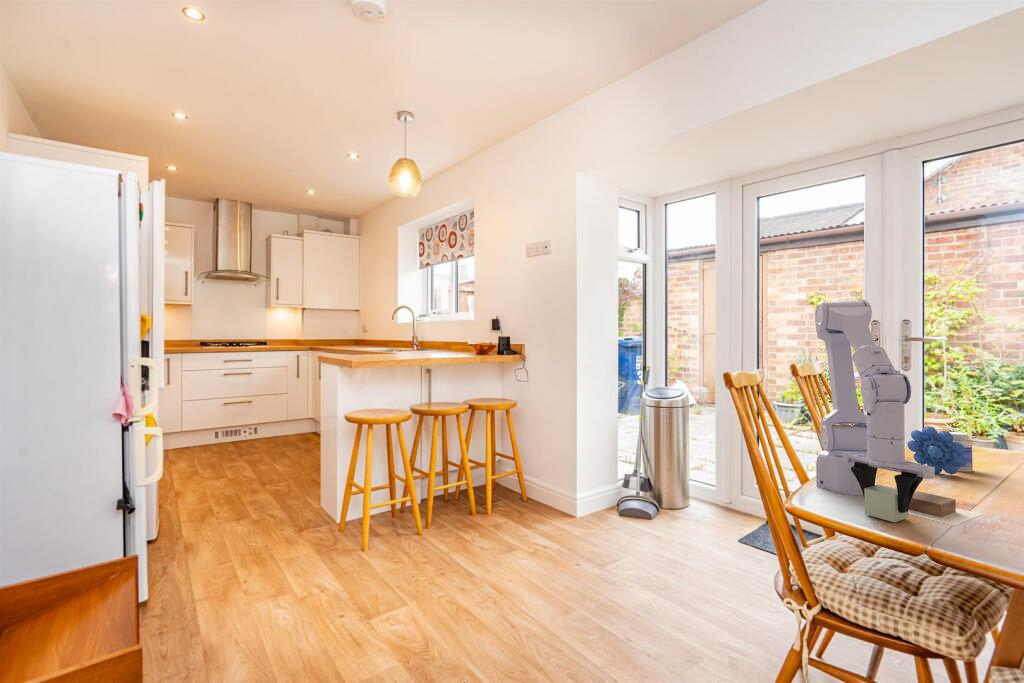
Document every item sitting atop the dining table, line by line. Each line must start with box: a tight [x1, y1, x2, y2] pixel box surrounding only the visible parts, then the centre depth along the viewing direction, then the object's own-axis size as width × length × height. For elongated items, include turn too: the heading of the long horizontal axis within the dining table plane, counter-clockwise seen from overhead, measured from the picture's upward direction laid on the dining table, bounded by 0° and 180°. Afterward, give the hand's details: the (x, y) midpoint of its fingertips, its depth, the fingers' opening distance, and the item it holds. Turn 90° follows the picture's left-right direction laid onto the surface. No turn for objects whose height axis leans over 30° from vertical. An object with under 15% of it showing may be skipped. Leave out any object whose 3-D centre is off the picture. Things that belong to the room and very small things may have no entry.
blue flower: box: [906, 425, 967, 475], centre depth 125 cm, size 12×7×12 cm, turn 43°
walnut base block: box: [909, 491, 957, 518], centre depth 97 cm, size 6×6×2 cm
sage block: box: [864, 484, 909, 523], centre depth 93 cm, size 5×5×5 cm
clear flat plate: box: [908, 507, 983, 527], centre depth 97 cm, size 12×12×1 cm
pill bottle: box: [948, 431, 974, 473], centre depth 129 cm, size 5×5×10 cm
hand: (886, 507), depth 93 cm, fingers closed on sage block, 5 cm apart
